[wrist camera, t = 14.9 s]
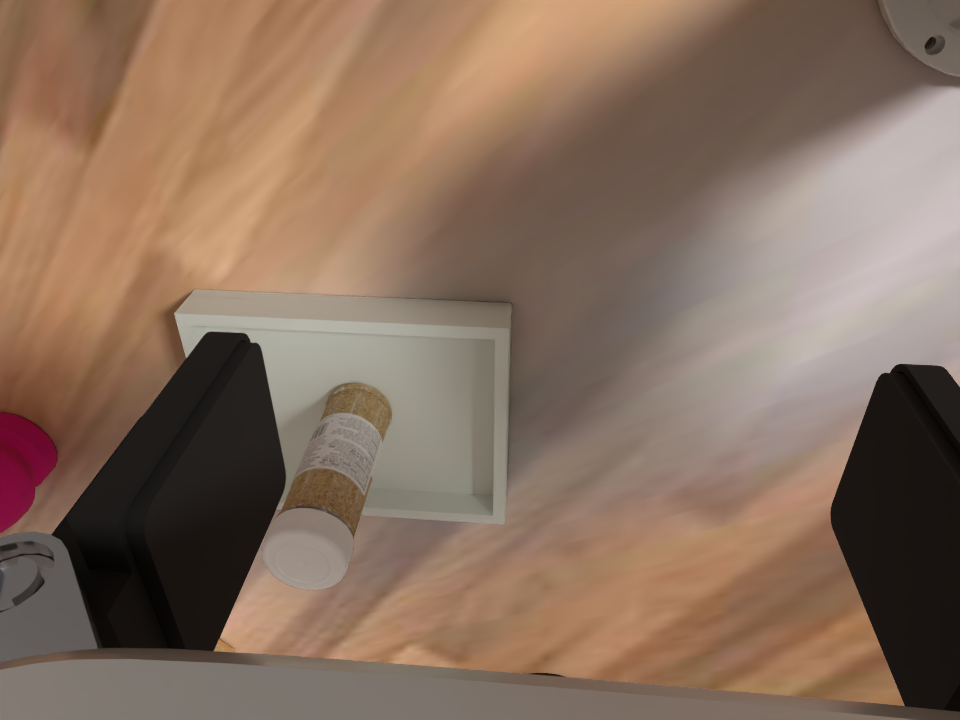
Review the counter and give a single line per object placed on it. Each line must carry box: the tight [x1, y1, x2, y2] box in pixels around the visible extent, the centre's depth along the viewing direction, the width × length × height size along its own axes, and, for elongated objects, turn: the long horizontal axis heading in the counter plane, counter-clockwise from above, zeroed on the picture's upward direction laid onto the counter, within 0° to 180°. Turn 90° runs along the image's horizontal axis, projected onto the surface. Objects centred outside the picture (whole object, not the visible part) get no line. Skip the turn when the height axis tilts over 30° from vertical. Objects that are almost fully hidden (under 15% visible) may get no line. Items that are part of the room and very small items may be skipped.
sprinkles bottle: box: [262, 383, 392, 590], centre depth 44 cm, size 5×5×13 cm
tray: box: [174, 289, 512, 525], centre depth 49 cm, size 20×16×3 cm
